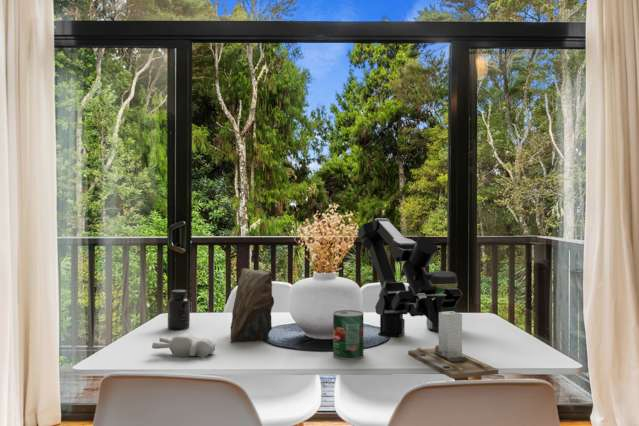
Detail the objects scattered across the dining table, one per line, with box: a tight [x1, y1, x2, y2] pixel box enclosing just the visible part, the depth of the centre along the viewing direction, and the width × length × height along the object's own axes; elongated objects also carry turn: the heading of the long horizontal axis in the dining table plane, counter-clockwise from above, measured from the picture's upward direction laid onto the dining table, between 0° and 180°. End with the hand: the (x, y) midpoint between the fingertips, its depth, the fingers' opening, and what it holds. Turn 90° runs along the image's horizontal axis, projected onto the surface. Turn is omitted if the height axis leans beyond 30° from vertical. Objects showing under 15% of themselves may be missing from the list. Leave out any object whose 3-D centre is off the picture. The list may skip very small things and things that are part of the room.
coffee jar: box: [426, 270, 459, 332], centre depth 163 cm, size 10×8×19 cm
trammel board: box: [407, 344, 499, 380], centre depth 125 cm, size 21×12×3 cm, turn 18°
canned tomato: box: [332, 309, 365, 361], centre depth 132 cm, size 8×8×11 cm
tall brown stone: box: [230, 267, 275, 344], centre depth 151 cm, size 13×13×20 cm
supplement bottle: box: [167, 289, 191, 331], centre depth 163 cm, size 7×7×12 cm
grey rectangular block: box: [434, 311, 466, 362], centre depth 124 cm, size 6×7×11 cm
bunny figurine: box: [151, 333, 217, 358], centre depth 132 cm, size 10×5×15 cm
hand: (438, 326), depth 130 cm, fingers closed
